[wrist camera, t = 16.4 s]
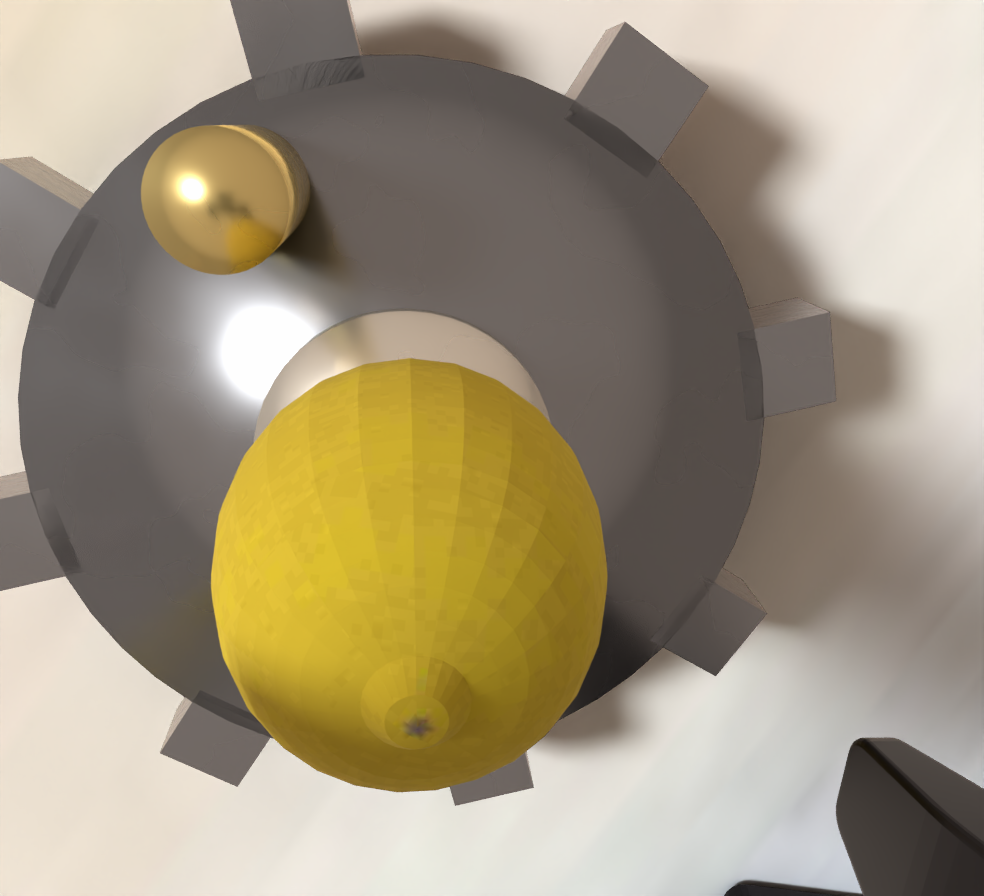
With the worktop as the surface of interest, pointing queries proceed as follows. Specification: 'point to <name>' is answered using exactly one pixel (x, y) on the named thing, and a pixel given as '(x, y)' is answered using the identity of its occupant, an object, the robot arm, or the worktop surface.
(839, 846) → the worktop surface
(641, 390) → the sprocket
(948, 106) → the worktop surface
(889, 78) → the worktop surface
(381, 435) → the lemon
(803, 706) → the worktop surface
